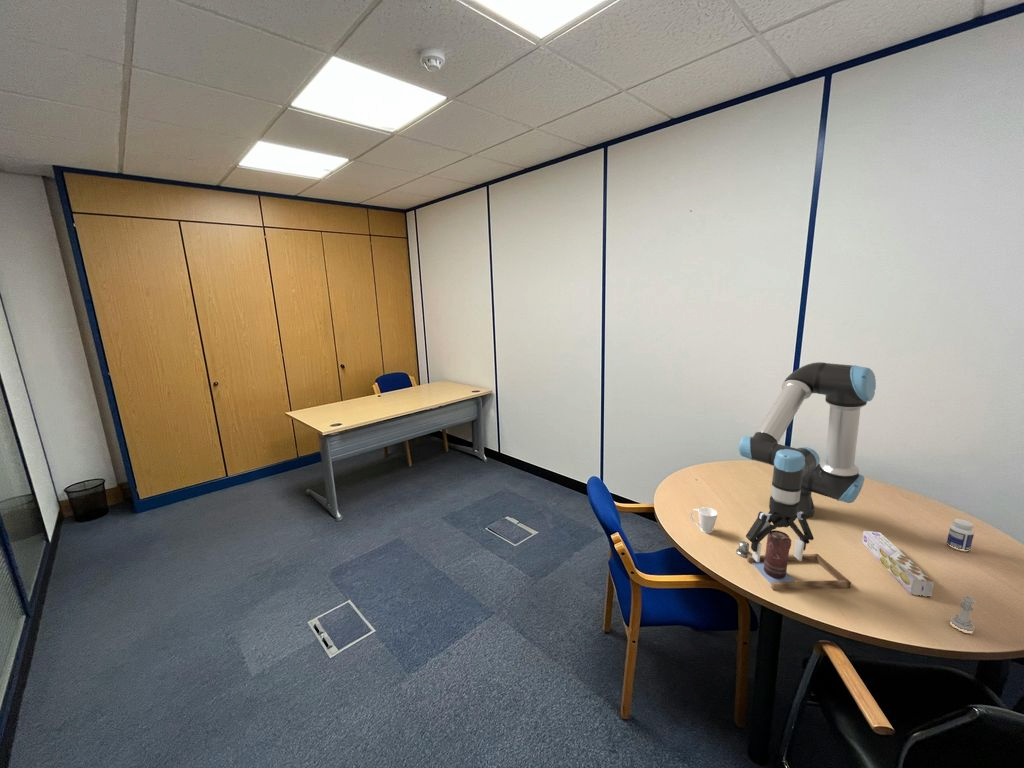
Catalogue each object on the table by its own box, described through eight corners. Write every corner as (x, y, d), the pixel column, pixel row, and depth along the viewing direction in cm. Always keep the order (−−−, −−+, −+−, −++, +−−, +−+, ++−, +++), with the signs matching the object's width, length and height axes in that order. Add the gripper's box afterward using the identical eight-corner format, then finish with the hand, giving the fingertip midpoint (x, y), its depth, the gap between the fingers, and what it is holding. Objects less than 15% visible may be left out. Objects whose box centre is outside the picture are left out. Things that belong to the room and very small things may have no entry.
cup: (711, 537, 152) (713, 518, 151) (685, 526, 160) (687, 508, 158) (719, 530, 157) (721, 511, 155) (694, 520, 164) (695, 502, 163)
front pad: (775, 562, 138) (775, 561, 137) (798, 586, 127) (798, 584, 127) (752, 563, 138) (752, 562, 137) (773, 586, 127) (773, 585, 127)
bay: (816, 559, 139) (817, 553, 138) (850, 587, 125) (851, 582, 125) (747, 561, 139) (747, 555, 138) (772, 590, 125) (773, 584, 125)
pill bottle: (962, 544, 145) (968, 519, 142) (974, 554, 139) (980, 528, 137) (942, 541, 146) (947, 516, 144) (952, 551, 141) (958, 525, 139)
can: (786, 582, 128) (792, 542, 125) (763, 575, 131) (768, 536, 128) (786, 571, 133) (791, 533, 130) (763, 564, 136) (768, 527, 133)
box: (860, 543, 147) (863, 529, 146) (878, 545, 146) (880, 531, 145) (910, 596, 122) (913, 580, 120) (931, 599, 120) (935, 582, 119)
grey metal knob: (745, 549, 145) (747, 539, 144) (753, 557, 141) (754, 547, 140) (733, 549, 145) (734, 540, 144) (740, 557, 141) (741, 547, 140)
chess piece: (974, 637, 107) (983, 605, 104) (950, 628, 110) (958, 597, 107) (972, 627, 110) (980, 595, 108) (948, 619, 113) (956, 588, 111)
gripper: (815, 492, 130) (806, 550, 135) (737, 494, 130) (731, 552, 134) (833, 503, 123) (823, 565, 127) (751, 506, 123) (744, 567, 127)
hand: (776, 558), depth 131 cm, fingers open, 13 cm apart
